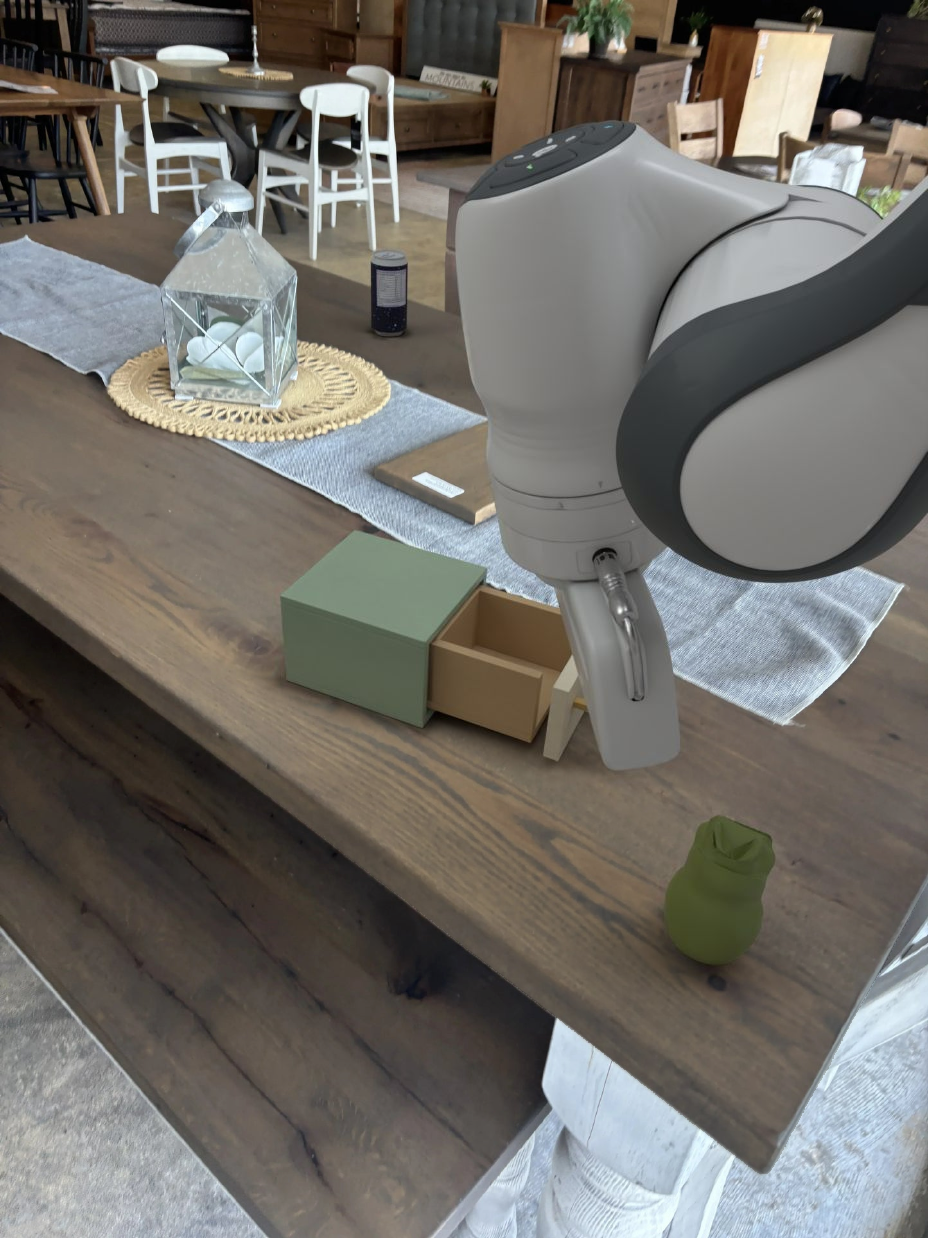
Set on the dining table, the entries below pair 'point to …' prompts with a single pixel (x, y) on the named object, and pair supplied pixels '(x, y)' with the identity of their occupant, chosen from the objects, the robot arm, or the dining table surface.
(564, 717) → the drawer
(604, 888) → the dining table surface
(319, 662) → the cabinet
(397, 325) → the beverage can
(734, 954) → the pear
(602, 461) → the robot arm
